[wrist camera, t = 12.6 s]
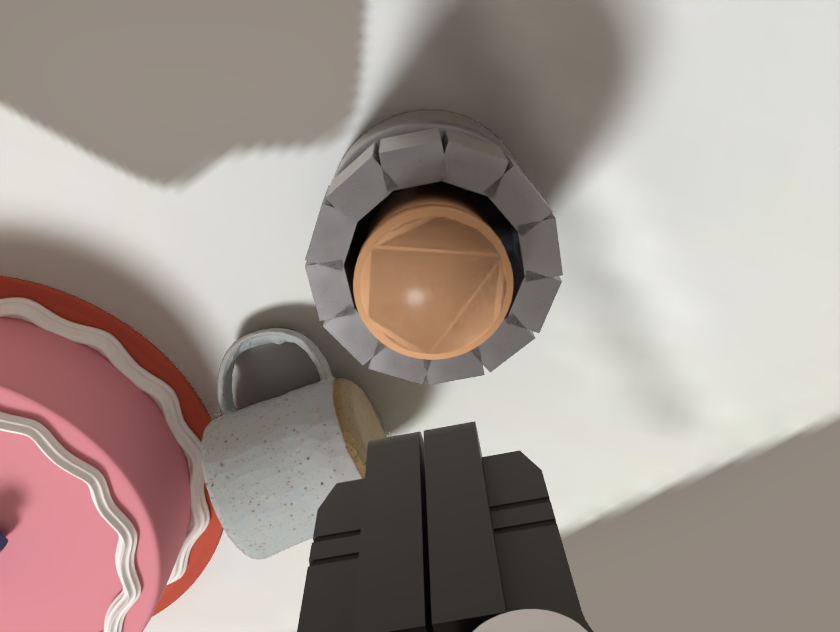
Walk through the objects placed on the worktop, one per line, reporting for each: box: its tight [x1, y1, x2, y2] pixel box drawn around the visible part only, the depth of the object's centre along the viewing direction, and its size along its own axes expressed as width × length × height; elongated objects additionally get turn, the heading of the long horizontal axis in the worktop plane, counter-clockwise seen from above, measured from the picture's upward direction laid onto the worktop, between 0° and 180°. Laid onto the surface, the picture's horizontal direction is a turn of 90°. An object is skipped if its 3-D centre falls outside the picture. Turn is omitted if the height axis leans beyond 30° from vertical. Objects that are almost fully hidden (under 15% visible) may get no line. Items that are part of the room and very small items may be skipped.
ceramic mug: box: [201, 328, 386, 559], centre depth 40 cm, size 11×8×8 cm
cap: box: [353, 185, 513, 360], centre depth 31 cm, size 6×6×5 cm
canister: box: [305, 110, 563, 385], centre depth 35 cm, size 10×10×9 cm
